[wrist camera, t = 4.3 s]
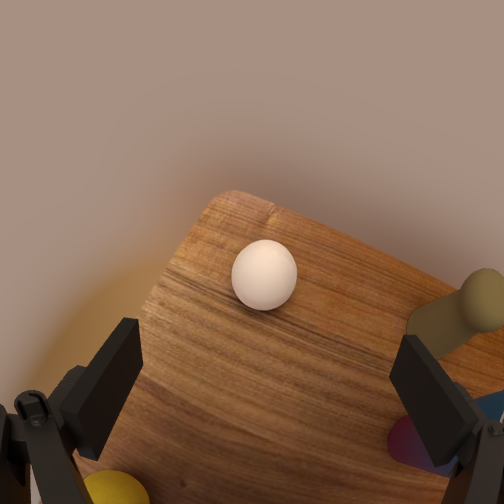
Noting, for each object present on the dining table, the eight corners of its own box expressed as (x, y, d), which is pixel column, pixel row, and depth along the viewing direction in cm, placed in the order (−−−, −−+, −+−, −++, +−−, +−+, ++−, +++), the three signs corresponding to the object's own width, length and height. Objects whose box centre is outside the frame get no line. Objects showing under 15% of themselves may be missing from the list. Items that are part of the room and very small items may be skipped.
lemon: (168, 483, 20) (143, 508, 13) (147, 527, 18) (117, 560, 11) (113, 452, 21) (70, 463, 14) (93, 496, 19) (50, 516, 12)
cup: (416, 390, 25) (533, 356, 12) (448, 436, 22) (564, 425, 9) (365, 438, 23) (477, 446, 10) (401, 484, 20) (513, 511, 7)
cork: (443, 369, 26) (518, 341, 16) (398, 346, 27) (467, 309, 17) (457, 319, 28) (524, 277, 19) (415, 295, 30) (477, 243, 20)
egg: (244, 258, 31) (246, 212, 24) (296, 277, 30) (313, 235, 23) (223, 307, 28) (218, 272, 22) (278, 328, 28) (292, 299, 21)
